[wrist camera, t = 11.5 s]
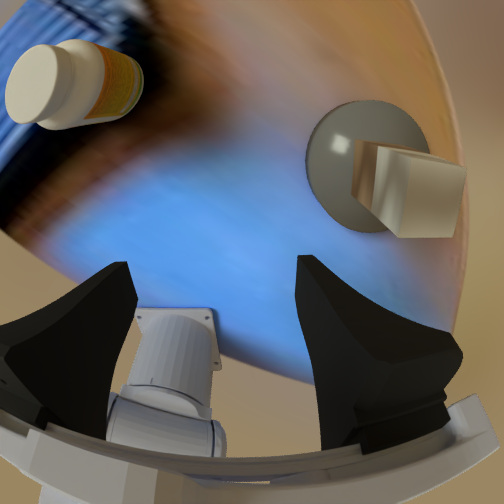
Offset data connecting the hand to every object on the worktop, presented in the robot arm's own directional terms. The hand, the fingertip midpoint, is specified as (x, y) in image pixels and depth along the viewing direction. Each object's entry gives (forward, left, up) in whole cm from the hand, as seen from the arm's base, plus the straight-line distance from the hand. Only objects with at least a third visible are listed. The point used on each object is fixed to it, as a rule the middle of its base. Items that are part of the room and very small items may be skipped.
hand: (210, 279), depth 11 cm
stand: (+3, -11, -10) cm, 15 cm away
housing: (+3, -11, -8) cm, 14 cm away
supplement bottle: (+10, +8, -11) cm, 17 cm away
